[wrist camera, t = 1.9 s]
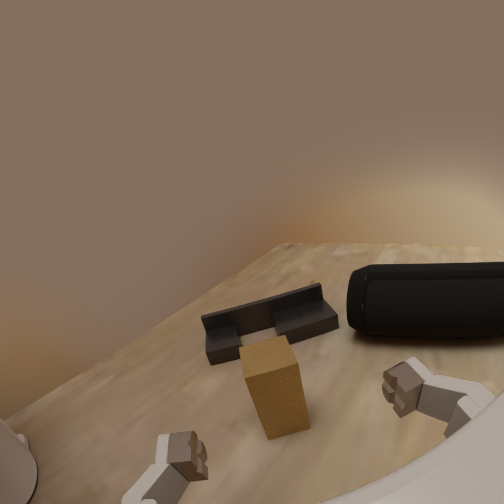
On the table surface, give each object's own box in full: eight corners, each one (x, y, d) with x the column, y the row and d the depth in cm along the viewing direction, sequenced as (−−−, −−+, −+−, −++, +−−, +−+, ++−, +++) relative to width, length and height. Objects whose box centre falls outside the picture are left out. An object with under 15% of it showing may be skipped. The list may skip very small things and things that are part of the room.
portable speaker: (503, 310, 28) (513, 250, 25) (515, 350, 20) (534, 282, 17) (362, 309, 42) (358, 253, 39) (346, 348, 35) (341, 284, 32)
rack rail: (338, 327, 39) (335, 300, 38) (211, 365, 38) (200, 339, 37) (322, 308, 46) (318, 282, 45) (210, 340, 45) (201, 315, 43)
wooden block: (268, 440, 23) (244, 378, 21) (261, 411, 28) (238, 347, 25) (310, 428, 24) (297, 363, 21) (298, 400, 28) (284, 334, 25)
